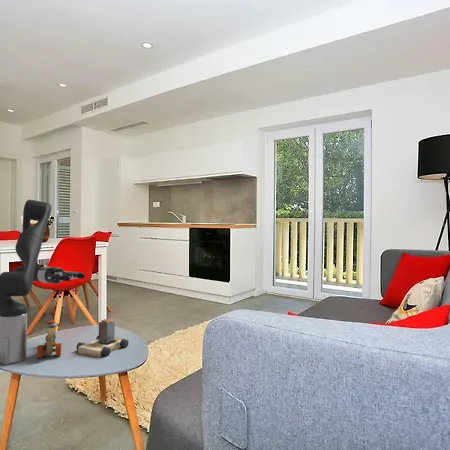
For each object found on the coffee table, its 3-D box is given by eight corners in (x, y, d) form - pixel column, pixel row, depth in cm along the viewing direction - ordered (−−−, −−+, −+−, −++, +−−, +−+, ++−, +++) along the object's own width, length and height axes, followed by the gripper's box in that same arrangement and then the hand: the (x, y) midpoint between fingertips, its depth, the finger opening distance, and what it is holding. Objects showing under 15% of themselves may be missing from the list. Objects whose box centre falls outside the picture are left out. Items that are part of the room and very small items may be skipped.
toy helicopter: (36, 361, 132) (37, 324, 132) (41, 344, 152) (42, 312, 152) (60, 358, 136) (61, 322, 136) (62, 342, 155) (63, 310, 155)
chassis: (103, 358, 137) (103, 349, 137) (74, 352, 143) (74, 344, 143) (129, 345, 151) (129, 338, 151) (102, 340, 157) (103, 333, 157)
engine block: (106, 348, 146) (107, 321, 146) (98, 346, 148) (98, 320, 148) (114, 345, 150) (114, 319, 150) (105, 343, 152) (106, 318, 152)
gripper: (37, 268, 157) (64, 270, 151) (63, 265, 170) (89, 267, 164) (37, 285, 157) (64, 288, 150) (63, 281, 170) (89, 283, 164)
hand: (77, 277), depth 157 cm, fingers open, 8 cm apart
